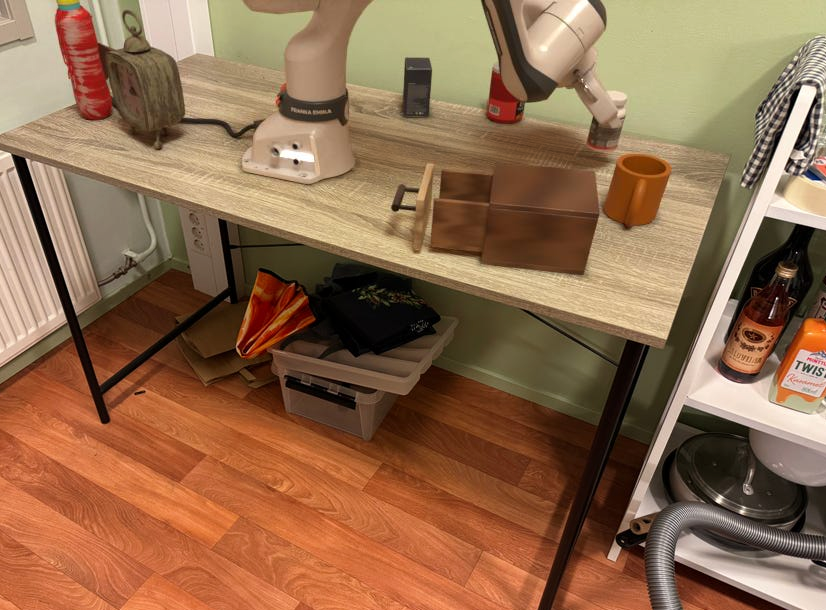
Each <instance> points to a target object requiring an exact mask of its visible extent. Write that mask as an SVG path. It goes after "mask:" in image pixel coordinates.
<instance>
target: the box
mask: <svg viewBox="0 0 826 610" xmlns="http://www.w3.org/2000/svg"><path fill="white" fill-rule="evenodd" d="M432 78H433V67H432V62H431V58H430V57H407V56H406V57H405V58H404V70H403V88H402V89H403V90H402V109H403V116H404V117H405V118H429V116H430V104H431V91H432Z"/></svg>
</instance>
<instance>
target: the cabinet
mask: <svg viewBox="0 0 826 610" xmlns="http://www.w3.org/2000/svg"><path fill="white" fill-rule="evenodd" d="M492 173H493V181H492V188H491V196H490V204H489V211H488V218H487V225H486V233H485V240H484V247H483V252H481V253H482V254H481V262H480V263H481V265H489V266H498V267H507V268H516V269H525V270H534V271H543V272H553V273H562V274H571V275H579V276H584V274H585V271H586V268H587V264H588V259H589V256H590V252H591V248H592V245H593V241H594V237H595V235H596V230H597V226H598V222H599V218H600V214H601V212H600V203H599V194H598V186H597V177H596V176H597V175H596V170H590V169H589V170H588V169H577V168H566V167H555V166H553V167H552V166H541V165H531V164H530V165H529V164H519V163H518V164H517V163H509V162H507V163H506V162H497V161H495V162H494V166H493V172H492Z"/></svg>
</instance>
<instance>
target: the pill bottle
mask: <svg viewBox="0 0 826 610" xmlns="http://www.w3.org/2000/svg"><path fill="white" fill-rule="evenodd" d="M606 91H607V93H608V94H609V96H610V97H611V99H612V101H613V102H614V104H615V105H616V107H617V109H618V114H617V116H618V117H619V119H620V120H621V124H620V125H619V126H617V127H616V128H612V127H611V126H610V124H609V123H608V122H607V123H605V124H603V125H601V124H599V123H598V122H597V120H596V119H595V118H594V116H593V115H592V119H591V123H590V127H589V131H588V135H587V140H586V145H587V147H588V148H589V149H590V150H591V151H595V152H599V153H610V152H611V153H612V152H614V151H615V150H616V149H617V148H618V145H619V142H620V137H621V135H622V130H623V127H624V122H625V119H626V115H627V110H626V107H625V105H626V104H627V100H628V95H627V94H626V93H624V92H622V91H618V90H606Z"/></svg>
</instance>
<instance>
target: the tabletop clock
mask: <svg viewBox="0 0 826 610" xmlns="http://www.w3.org/2000/svg"><path fill="white" fill-rule="evenodd" d="M127 14H128V15H129V16H132V17H133V18H134V19H135V21H136V22H137V24H138V26H139V27H138V28H139V30H138V31H137V27H136V26H135V25H132V26H129V25H128V24H127V22H126V15H127ZM121 17H122V18H121V19H122V23H123V25H124V27H125V28H126V30H127V31H128V32H129V33H130V34H131V35H130V36H128V37H126V38H125V40H124V41H123V47H122V48H119V49H115V50H114V51H110V52H106V53H105V61H106V68H107V72H108V77H109V78H108V81H109V86H110V89H111V93H112V97H113V99H114V101H115V104H116V107H117V108H116V107H115V108H116V109H117V112H118V115H119V116H120V117H121V118H122V120H124V121H125V122H126V123H127V124H128V125H130V126H129V127H128V132H129V133H130V134H136V133H137V131H140V132H143V133H144V134H145V133H150V132H153V131H154V133H155V141H154V143H153V147H154V148H155V149H157V150H161V149H162V148H163V144H162V142H161V141H160V134H161V135H162V136H167V135H168V134H169V129H168V128H167V127H168V126H171V125H172V126H173V125H175V124H178V123H181V122H180V121H181V120H182V118H185V116H186V104H185V98H184V91H183V86H182V80H181V75H180V69H179V67H178V64H177V61H176V59H175V58H174V57H173V56H172V55H170V54H169V53H167V52H165V51H163V50H162V49H158V48H157V47H153V46H151V45H150V42H149V41H148V40H147V38H145V36H143V35H142V33H143V26H142V22H141V20H140V18H139V16H138V15H137V14H136V13H135V12H133V11H132V10H130V9H124V10H123V11H122V14H121Z"/></svg>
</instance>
